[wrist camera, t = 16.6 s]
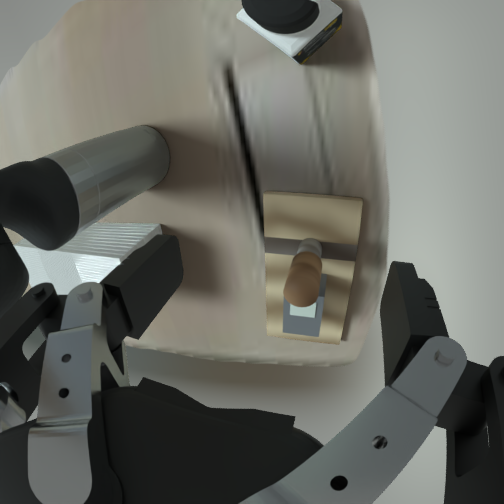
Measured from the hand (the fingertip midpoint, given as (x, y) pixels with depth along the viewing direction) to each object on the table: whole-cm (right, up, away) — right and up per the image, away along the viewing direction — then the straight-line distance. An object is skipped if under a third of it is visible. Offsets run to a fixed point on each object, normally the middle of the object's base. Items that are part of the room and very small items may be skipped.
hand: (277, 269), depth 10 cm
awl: (+6, +1, +27) cm, 27 cm away
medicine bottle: (+4, +26, +14) cm, 30 cm away
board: (+7, -3, +30) cm, 31 cm away
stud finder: (+7, -5, +30) cm, 31 cm away
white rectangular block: (-30, +2, +40) cm, 50 cm away
